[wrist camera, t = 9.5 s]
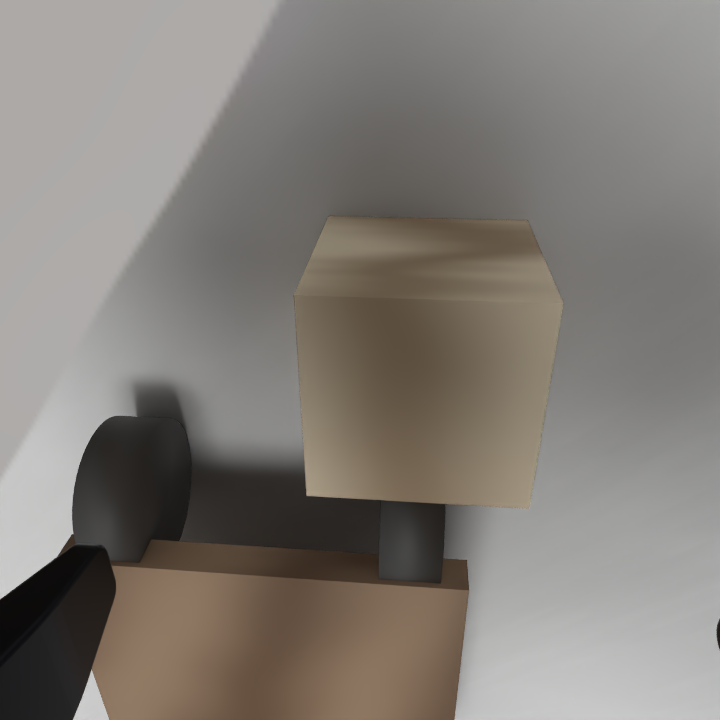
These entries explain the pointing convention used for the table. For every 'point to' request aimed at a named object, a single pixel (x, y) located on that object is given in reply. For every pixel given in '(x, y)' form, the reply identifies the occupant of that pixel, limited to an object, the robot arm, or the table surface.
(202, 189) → the table surface
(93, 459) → the trolley
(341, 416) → the beige cube
